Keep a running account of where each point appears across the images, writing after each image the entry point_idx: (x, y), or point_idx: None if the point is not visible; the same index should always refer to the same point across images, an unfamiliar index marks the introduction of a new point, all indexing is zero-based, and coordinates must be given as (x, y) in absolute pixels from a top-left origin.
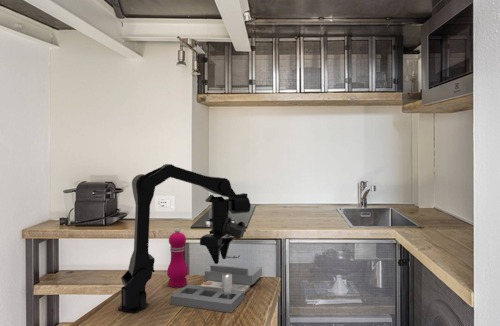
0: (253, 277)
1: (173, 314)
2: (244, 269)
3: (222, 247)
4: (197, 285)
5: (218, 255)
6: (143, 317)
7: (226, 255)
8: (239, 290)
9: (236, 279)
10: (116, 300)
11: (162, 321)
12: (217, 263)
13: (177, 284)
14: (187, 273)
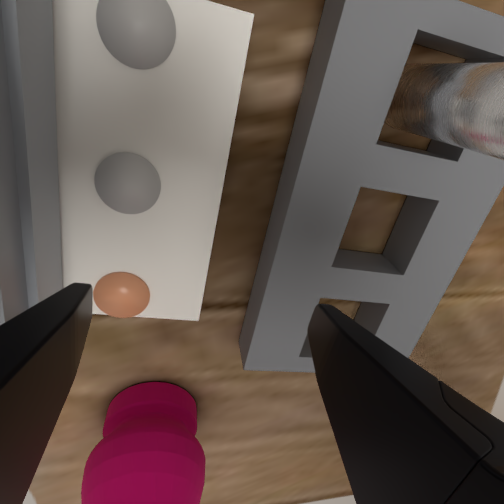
0: None
1: (478, 303)
2: None
3: (4, 480)
4: (257, 324)
5: (422, 371)
6: (480, 373)
7: (46, 300)
8: (201, 43)
9: (43, 100)
10: (339, 484)
11: None
12: (333, 308)
13: (194, 409)
14: (137, 431)
